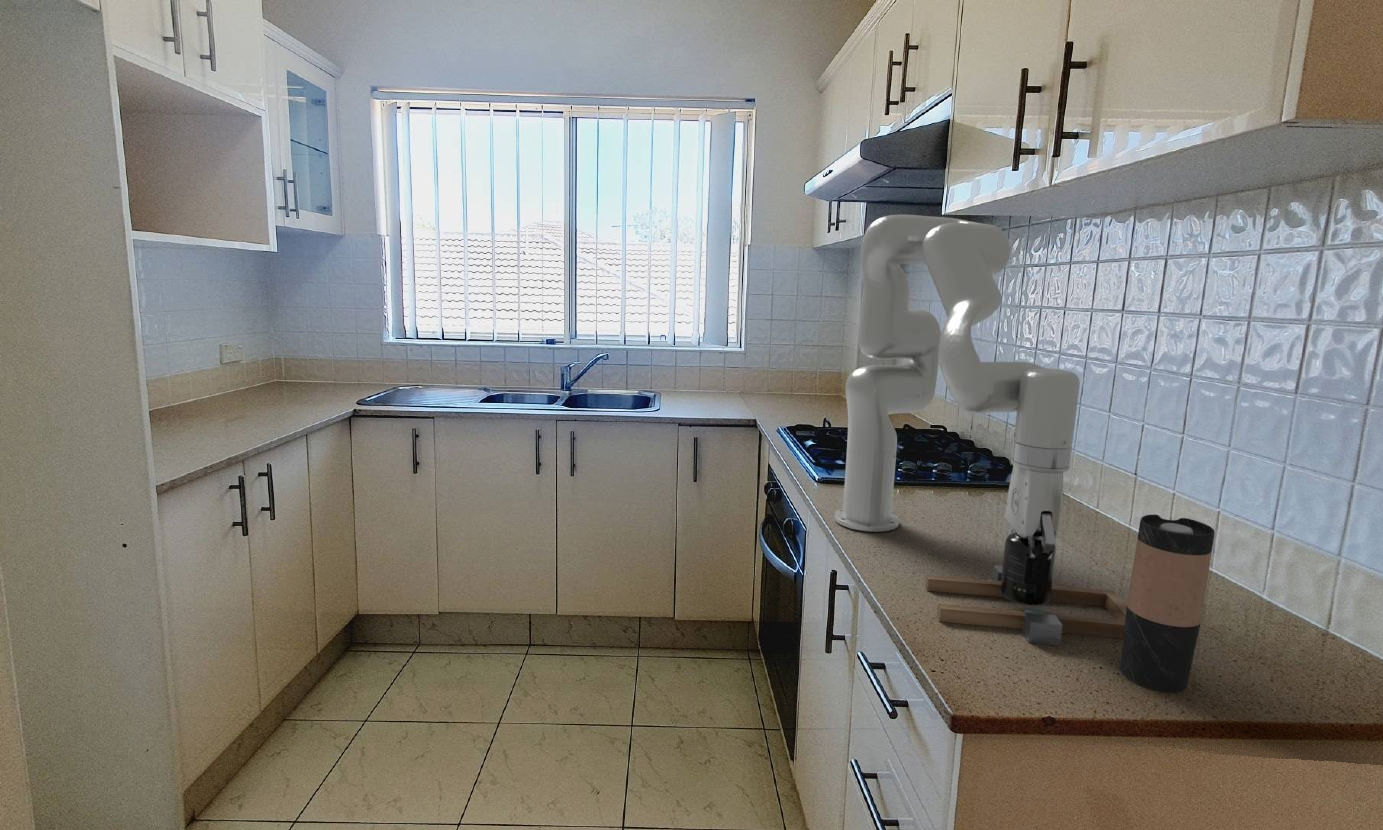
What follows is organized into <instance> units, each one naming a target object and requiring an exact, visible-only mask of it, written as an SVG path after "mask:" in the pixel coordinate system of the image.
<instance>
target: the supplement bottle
mask: <svg viewBox="0 0 1383 830" xmlns="http://www.w3.org/2000/svg"><path fill="white" fill-rule="evenodd" d="M1014 531H1015V530H1014ZM1033 536H1042V533H1037V532H1035V533H1034V534H1033ZM1041 542H1042V541H1035V548H1036V547H1037V545H1038V544H1041ZM1056 553H1057V545H1056V544H1055V546H1054V548H1053V552H1052V559H1051V562H1050V570H1049V579H1048V584H1047V585H1046V586H1043V585H1031V584H1025V583H1024V582H1023V575H1024V567H1025V558H1026V556H1029V551H1028V536H1027V537H1026V538H1022V537H1021V536H1020V535H1019V534H1018V533H1017V532H1016V531H1015V532H1013V533H1009V534H1008V535H1007V536H1006V538H1005V541H1004V548H1003V558H1002V566H1003V567H1002V578H1001V592H1002V594H1003V595H1004V596H1005V597H1004V598H1006V599H1008V600H1010V601H1011V602H1014V603H1016V604H1021V605H1025V606H1026V605H1027V606H1042V605H1045V604H1047V603H1049V602H1050V601H1049V600H1050V598H1051V591H1052V585H1053V582H1054V581H1053V580H1054V573H1055V572H1054V571H1055V562H1056V555H1057V554H1056Z"/></svg>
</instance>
